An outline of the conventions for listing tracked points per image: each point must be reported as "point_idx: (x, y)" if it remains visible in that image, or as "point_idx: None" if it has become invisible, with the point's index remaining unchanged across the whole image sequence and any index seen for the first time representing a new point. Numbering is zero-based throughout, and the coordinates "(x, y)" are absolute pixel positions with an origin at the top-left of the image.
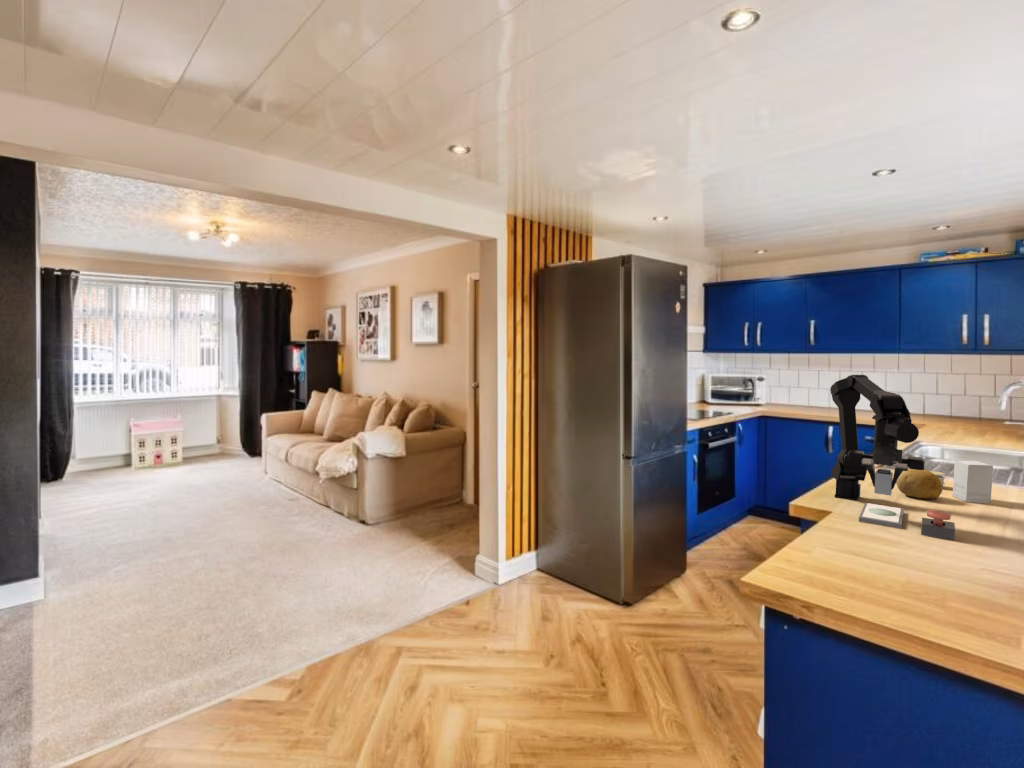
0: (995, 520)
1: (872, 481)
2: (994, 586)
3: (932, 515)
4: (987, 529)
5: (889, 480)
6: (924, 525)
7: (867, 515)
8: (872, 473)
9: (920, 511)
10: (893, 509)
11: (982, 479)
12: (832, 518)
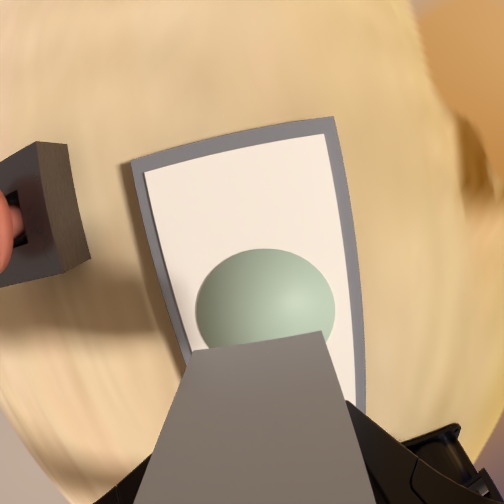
0: (57, 466)
1: (373, 426)
2: None
3: None
4: (16, 388)
5: (172, 456)
6: (31, 145)
7: (308, 178)
8: (410, 497)
9: None
10: None
11: None
12: (425, 82)
